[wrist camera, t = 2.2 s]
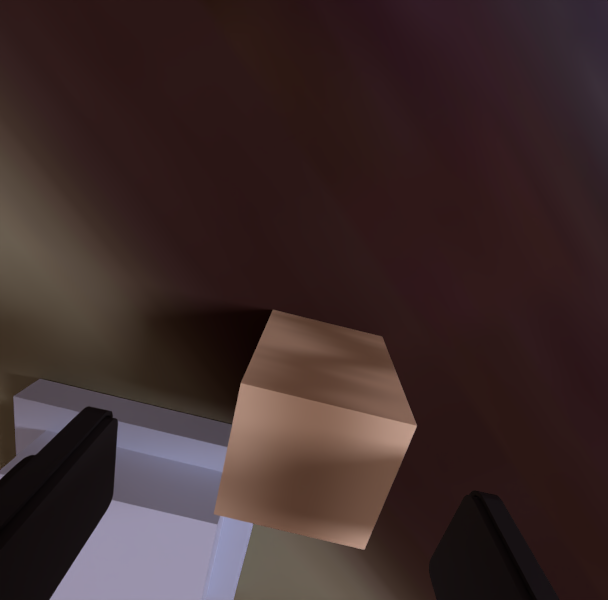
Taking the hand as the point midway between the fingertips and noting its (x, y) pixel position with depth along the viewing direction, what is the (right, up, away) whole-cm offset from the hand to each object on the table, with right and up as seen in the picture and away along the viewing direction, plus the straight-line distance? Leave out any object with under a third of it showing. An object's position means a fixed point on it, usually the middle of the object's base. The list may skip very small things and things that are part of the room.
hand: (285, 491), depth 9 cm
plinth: (-8, -6, +10) cm, 14 cm away
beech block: (+1, +2, +7) cm, 7 cm away
